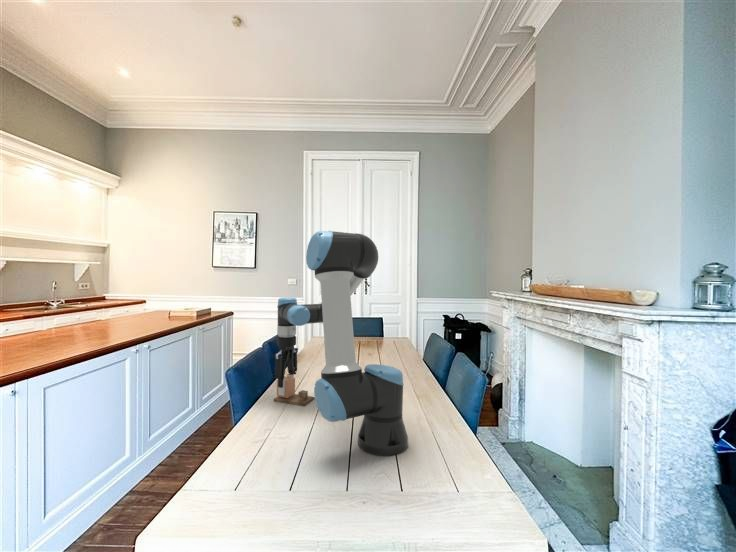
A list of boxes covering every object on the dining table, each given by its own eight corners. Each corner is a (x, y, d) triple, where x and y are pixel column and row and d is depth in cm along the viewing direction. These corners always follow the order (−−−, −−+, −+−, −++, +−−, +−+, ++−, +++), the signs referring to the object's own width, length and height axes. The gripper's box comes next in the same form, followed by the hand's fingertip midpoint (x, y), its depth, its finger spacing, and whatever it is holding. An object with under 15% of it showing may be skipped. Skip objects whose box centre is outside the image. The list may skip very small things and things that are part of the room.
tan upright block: (287, 398, 137) (287, 381, 137) (276, 396, 139) (276, 379, 139) (294, 393, 142) (295, 377, 142) (284, 392, 144) (284, 376, 144)
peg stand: (314, 399, 140) (314, 380, 140) (304, 406, 132) (304, 386, 132) (285, 394, 145) (285, 376, 145) (273, 401, 137) (274, 382, 137)
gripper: (281, 340, 130) (280, 401, 130) (306, 332, 147) (305, 386, 147) (264, 338, 133) (264, 398, 133) (291, 331, 150) (290, 384, 150)
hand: (285, 392), depth 140 cm, fingers closed on tan upright block, 5 cm apart
